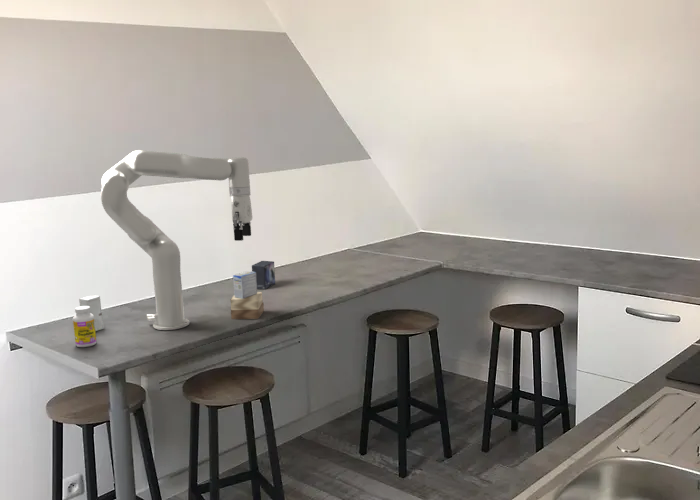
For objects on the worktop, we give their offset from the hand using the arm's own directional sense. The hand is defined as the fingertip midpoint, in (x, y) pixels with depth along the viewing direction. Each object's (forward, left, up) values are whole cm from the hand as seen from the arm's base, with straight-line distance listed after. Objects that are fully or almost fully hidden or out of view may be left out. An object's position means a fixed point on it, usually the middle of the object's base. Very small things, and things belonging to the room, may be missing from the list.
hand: (243, 238), depth 262 cm
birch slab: (0, -1, -26) cm, 26 cm away
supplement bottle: (-45, -37, -29) cm, 65 cm away
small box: (-5, +43, -29) cm, 53 cm away
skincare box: (-51, -21, -29) cm, 63 cm away
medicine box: (0, -1, -22) cm, 22 cm away
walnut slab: (0, -1, -30) cm, 30 cm away
